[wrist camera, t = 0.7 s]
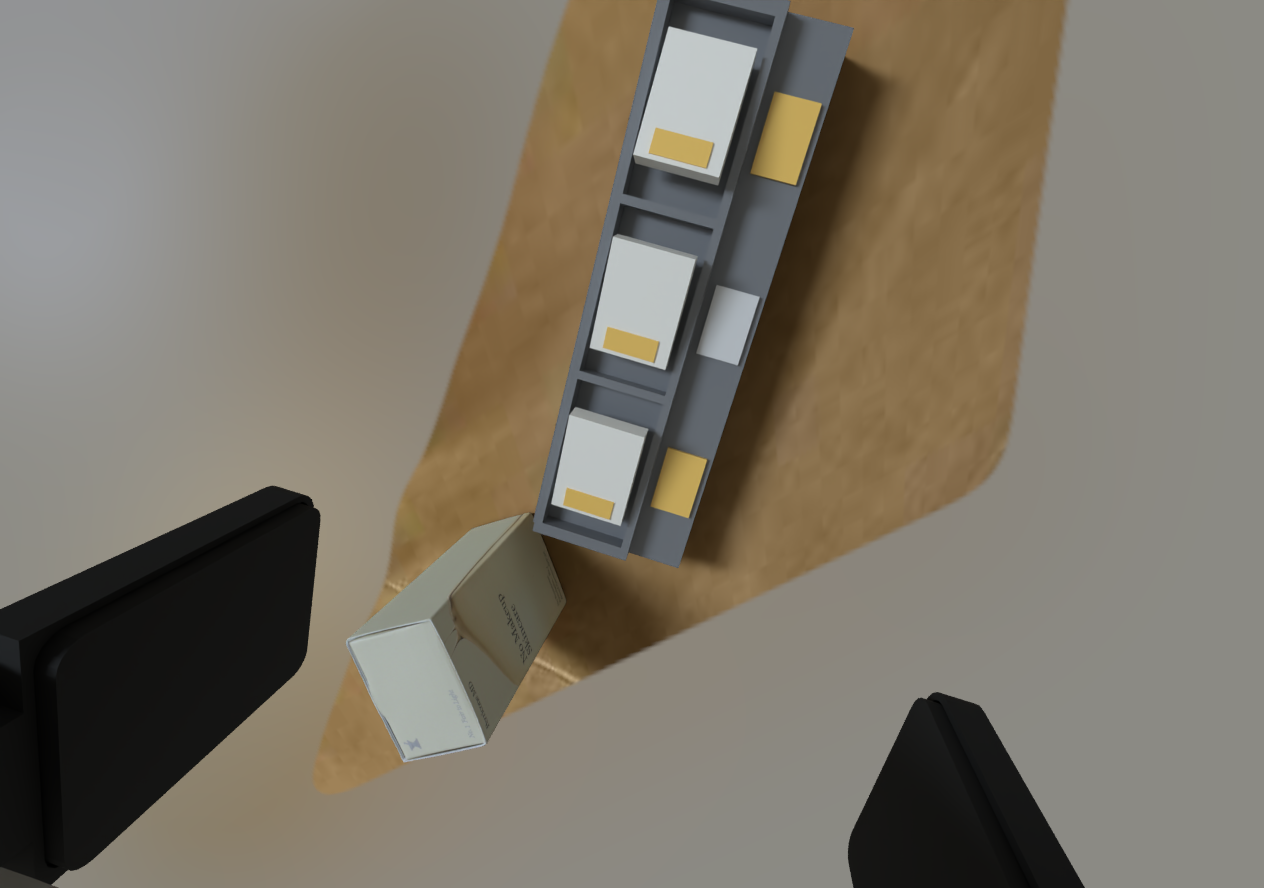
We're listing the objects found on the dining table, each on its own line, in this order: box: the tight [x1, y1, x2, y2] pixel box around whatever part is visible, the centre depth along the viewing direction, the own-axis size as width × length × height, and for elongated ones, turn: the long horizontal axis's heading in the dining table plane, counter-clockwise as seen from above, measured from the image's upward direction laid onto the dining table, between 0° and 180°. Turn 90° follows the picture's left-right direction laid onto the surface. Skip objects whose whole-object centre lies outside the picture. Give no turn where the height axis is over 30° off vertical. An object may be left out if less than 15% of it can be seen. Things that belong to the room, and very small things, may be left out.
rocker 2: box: [590, 234, 698, 370], centre depth 27 cm, size 5×4×1 cm
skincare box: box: [346, 512, 566, 762], centre depth 31 cm, size 6×4×12 cm
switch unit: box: [533, 0, 854, 568], centre depth 29 cm, size 25×8×4 cm, turn 165°
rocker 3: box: [551, 407, 648, 526], centre depth 29 cm, size 5×4×1 cm
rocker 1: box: [633, 27, 757, 185], centre depth 25 cm, size 5×4×1 cm
